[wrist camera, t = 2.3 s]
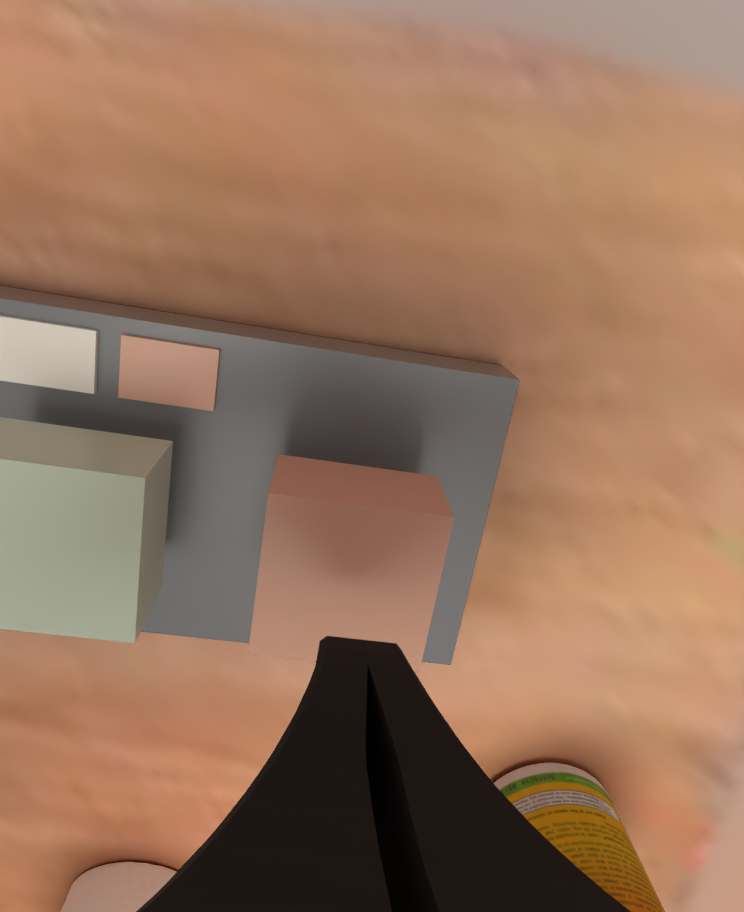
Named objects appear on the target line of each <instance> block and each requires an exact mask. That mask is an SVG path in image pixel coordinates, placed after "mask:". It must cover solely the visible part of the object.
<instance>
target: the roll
mask: <svg viewBox="0 0 744 912" xmlns="http://www.w3.org/2000/svg"><path fill="white" fill-rule="evenodd" d="M176 872H177V871H174V870H172V869H169V868H166V867H163V866H159V865H153V864H149V863H138V862H119V863H112V864H106V865H102V866H99V867H96V868H93V869H91V870H88V871H86V872H85V873H83V874H82V875H81V876H79V877H78V878H77V879H76V880H75V881H74V883H73V884H72V885H71V888H70V890H69V893H68V895H67V898H66V900H65V903H64V905H63V907H62V910H61V912H136V911H137V910H139V909H140V908H141V907H142V906H143V905H144V904H145V903H146V902H147V901H149V900H150V899H151V898H152V897H153V896H154V895H155V894H156V893H157V892H158V891H159V890H160V889H161V888H162V887H163V886H164V885H165V884H166V883H167V882H168V881H169V880H170V879H171V878H172V877H173V876H174V875H175V873H176Z"/></svg>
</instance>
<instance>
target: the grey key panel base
mask: <svg viewBox="0 0 744 912" xmlns="http://www.w3.org/2000/svg"><path fill="white" fill-rule="evenodd" d="M519 381H520V380H519V379H518V378H517V377H515V376H514V375H513V374H512V373H510V372H509V371H508V370H507V369H506V368H504V367H503V366H502V365H497V364H490V363H484V362H478V361H471V360H465V359H459V358H453V357H446V356H440V355H434V354H427V353H421V352H415V351H409V350H402V349H396V348H390V347H384V346H377V345H371V344H365V343H358V342H352V341H346V340H340V339H333V338H327V337H321V336H314V335H308V334H302V333H296V332H289V331H283V330H277V329H270V328H264V327H258V326H252V325H245V324H239V323H233V322H227V321H220V320H214V319H208V318H201V317H195V316H189V315H183V314H176V313H170V312H164V311H157V310H151V309H145V308H139V307H132V306H126V305H120V304H113V303H107V302H101V301H95V300H88V299H82V298H76V297H69V296H63V295H57V294H51V293H44V292H38V291H32V290H26V289H19V288H13V287H7V286H0V417H3V418H11V419H18V420H25V421H32V422H39V423H47V424H54V425H61V426H68V427H75V428H83V429H90V430H97V431H104V432H111V433H119V434H126V435H133V436H140V437H147V438H155V439H162V440H169V441H173V448H172V462H171V475H170V488H169V501H168V514H167V528H166V541H165V554H164V567H163V581H162V587H161V589H160V592H159V594H158V596H157V598H156V600H155V602H154V604H153V606H152V608H151V610H150V612H149V615H148V617H147V619H146V621H145V623H144V625H143V627H142V629H141V632H151V633H160V634H169V635H178V636H188V637H197V638H206V639H215V640H225V641H234V642H243V643H249V642H250V634H251V626H252V618H253V610H254V602H255V594H256V586H257V579H258V571H259V563H260V555H261V547H262V539H263V531H264V523H265V515H266V508H267V500H268V492H269V488H270V484H271V480H272V476H273V472H274V468H275V464H276V459H277V455H278V454H281V455H288V456H295V457H302V458H310V459H317V460H324V461H331V462H338V463H345V464H353V465H360V466H367V467H374V468H381V469H389V470H396V471H403V472H410V473H417V474H425V475H432V476H437V477H438V480H439V482H440V484H441V487H442V489H443V492H444V494H445V496H446V499H447V501H448V503H449V506H450V508H451V511H452V513H453V515H454V521H453V526H452V530H451V534H450V539H449V543H448V548H447V552H446V557H445V561H444V565H443V570H442V574H441V579H440V583H439V588H438V592H437V596H436V601H435V605H434V610H433V614H432V619H431V623H430V627H429V632H428V636H427V641H426V645H425V650H424V654H423V658H422V662H428V663H438V664H447V665H451V662H452V658H453V653H454V649H455V645H456V641H457V637H458V633H459V629H460V625H461V620H462V616H463V612H464V608H465V604H466V600H467V596H468V592H469V588H470V583H471V579H472V575H473V571H474V567H475V563H476V559H477V555H478V550H479V546H480V542H481V538H482V534H483V530H484V526H485V522H486V517H487V513H488V509H489V505H490V501H491V497H492V493H493V489H494V485H495V480H496V476H497V472H498V468H499V464H500V460H501V456H502V452H503V447H504V443H505V439H506V435H507V431H508V427H509V423H510V419H511V414H512V410H513V406H514V402H515V398H516V394H517V390H518V386H519Z"/></svg>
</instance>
